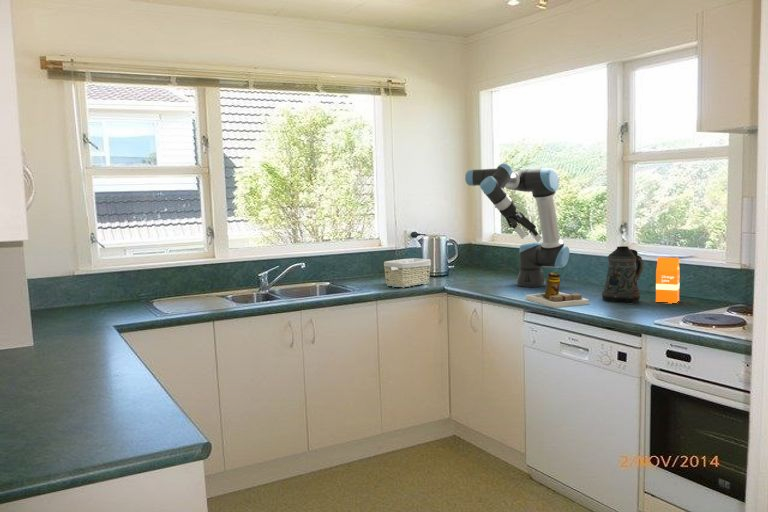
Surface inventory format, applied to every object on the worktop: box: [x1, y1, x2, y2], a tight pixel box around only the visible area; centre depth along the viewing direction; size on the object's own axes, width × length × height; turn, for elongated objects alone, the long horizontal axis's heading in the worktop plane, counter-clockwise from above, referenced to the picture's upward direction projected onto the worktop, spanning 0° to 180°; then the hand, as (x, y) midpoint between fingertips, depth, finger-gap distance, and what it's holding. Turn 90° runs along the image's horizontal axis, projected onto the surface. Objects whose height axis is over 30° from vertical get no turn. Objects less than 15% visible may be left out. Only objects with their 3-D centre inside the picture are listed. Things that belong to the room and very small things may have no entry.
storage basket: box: [383, 257, 432, 287], centre depth 356 cm, size 24×16×15 cm
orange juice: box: [655, 257, 681, 304], centre depth 282 cm, size 8×9×20 cm
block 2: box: [559, 293, 572, 301], centre depth 282 cm, size 4×4×4 cm
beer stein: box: [601, 245, 644, 304], centre depth 288 cm, size 16×19×25 cm
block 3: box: [569, 293, 583, 301], centre depth 284 cm, size 4×4×4 cm
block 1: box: [550, 295, 563, 302], centre depth 281 cm, size 4×4×4 cm
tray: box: [525, 291, 590, 309], centre depth 289 cm, size 24×18×3 cm
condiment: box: [539, 271, 561, 300], centre depth 293 cm, size 7×8×12 cm
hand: (531, 238), depth 293 cm, fingers open, 13 cm apart
